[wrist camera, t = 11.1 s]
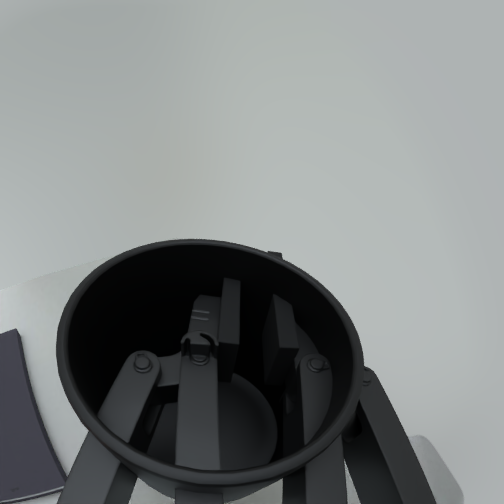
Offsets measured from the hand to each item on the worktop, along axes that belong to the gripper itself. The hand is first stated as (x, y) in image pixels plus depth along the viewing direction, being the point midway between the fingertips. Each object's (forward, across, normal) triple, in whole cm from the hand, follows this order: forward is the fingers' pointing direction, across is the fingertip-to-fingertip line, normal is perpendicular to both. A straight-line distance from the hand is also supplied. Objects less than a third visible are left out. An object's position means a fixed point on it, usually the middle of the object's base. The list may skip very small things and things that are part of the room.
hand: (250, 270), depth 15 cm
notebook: (-9, -25, -18) cm, 32 cm away
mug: (-6, -2, -6) cm, 9 cm away
